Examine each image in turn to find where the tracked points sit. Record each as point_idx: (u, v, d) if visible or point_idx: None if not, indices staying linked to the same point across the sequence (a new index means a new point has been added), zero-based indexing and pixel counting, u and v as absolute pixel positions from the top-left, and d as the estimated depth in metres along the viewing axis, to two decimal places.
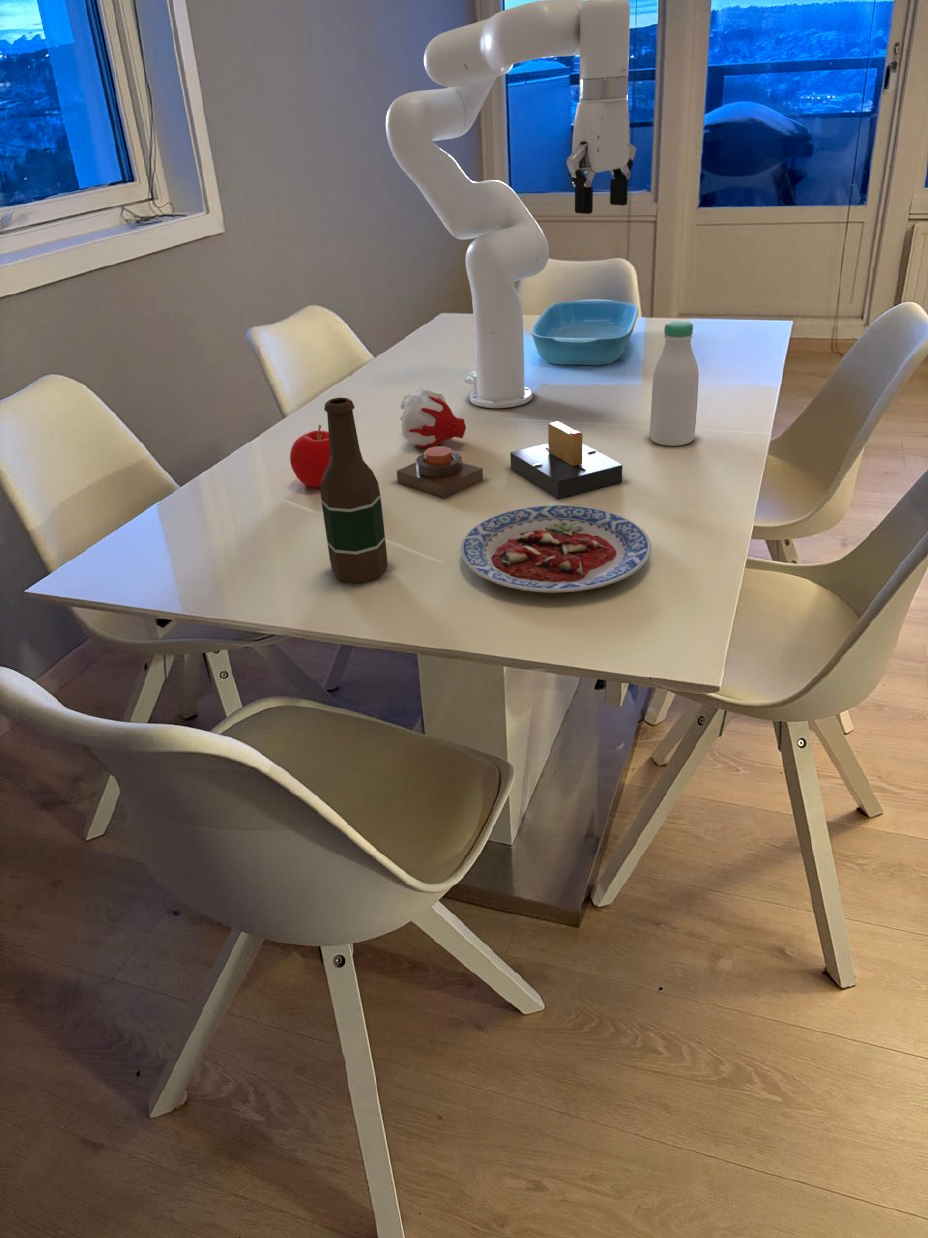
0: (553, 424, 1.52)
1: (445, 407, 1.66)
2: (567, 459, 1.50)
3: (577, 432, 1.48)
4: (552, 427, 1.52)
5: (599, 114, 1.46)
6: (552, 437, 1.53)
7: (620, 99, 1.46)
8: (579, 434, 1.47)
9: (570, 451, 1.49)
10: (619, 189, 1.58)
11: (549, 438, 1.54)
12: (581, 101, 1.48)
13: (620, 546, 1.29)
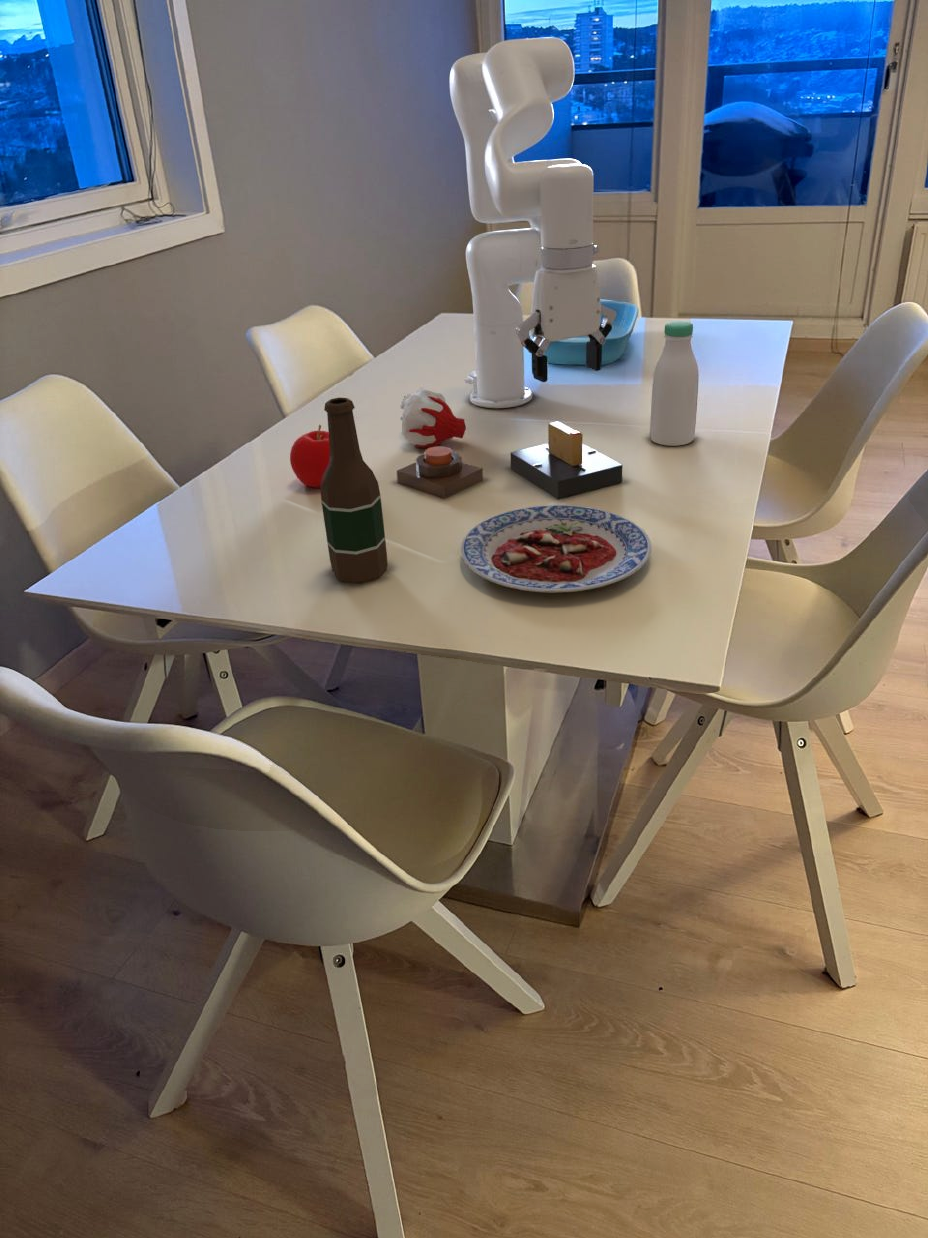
0: (553, 424, 1.52)
1: (445, 407, 1.66)
2: (567, 459, 1.50)
3: (577, 432, 1.48)
4: (552, 427, 1.52)
5: (552, 285, 1.36)
6: (552, 437, 1.53)
7: (576, 270, 1.35)
8: (579, 434, 1.47)
9: (570, 451, 1.49)
10: (592, 354, 1.46)
11: (549, 438, 1.54)
12: (541, 268, 1.38)
13: (620, 546, 1.29)
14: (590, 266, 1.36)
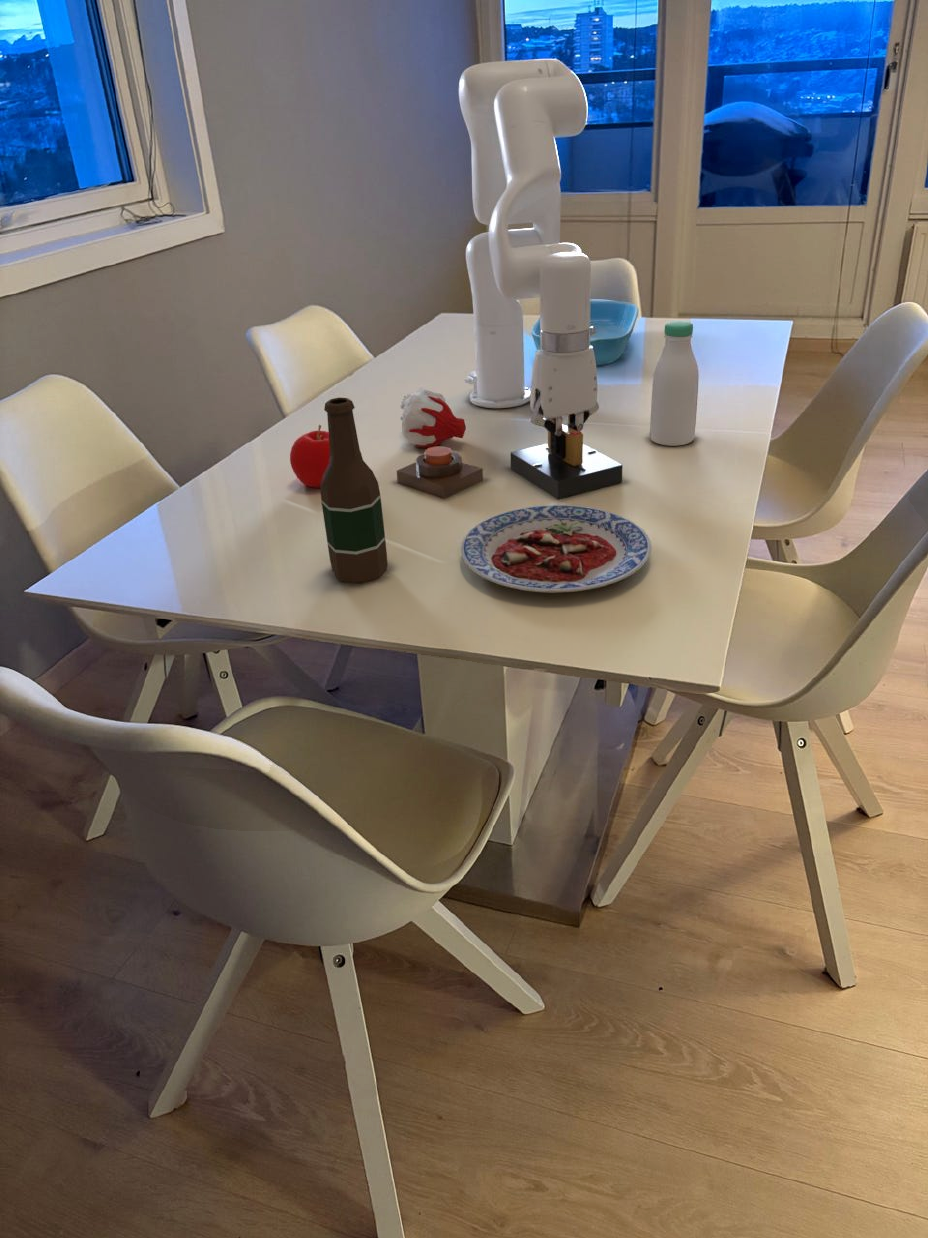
0: None
1: (445, 407, 1.66)
2: (567, 459, 1.50)
3: (577, 432, 1.48)
4: None
5: (551, 367, 1.41)
6: None
7: (575, 353, 1.40)
8: (579, 434, 1.47)
9: (571, 451, 1.49)
10: None
11: (549, 438, 1.54)
12: (540, 349, 1.44)
13: (620, 546, 1.29)
14: (588, 348, 1.42)
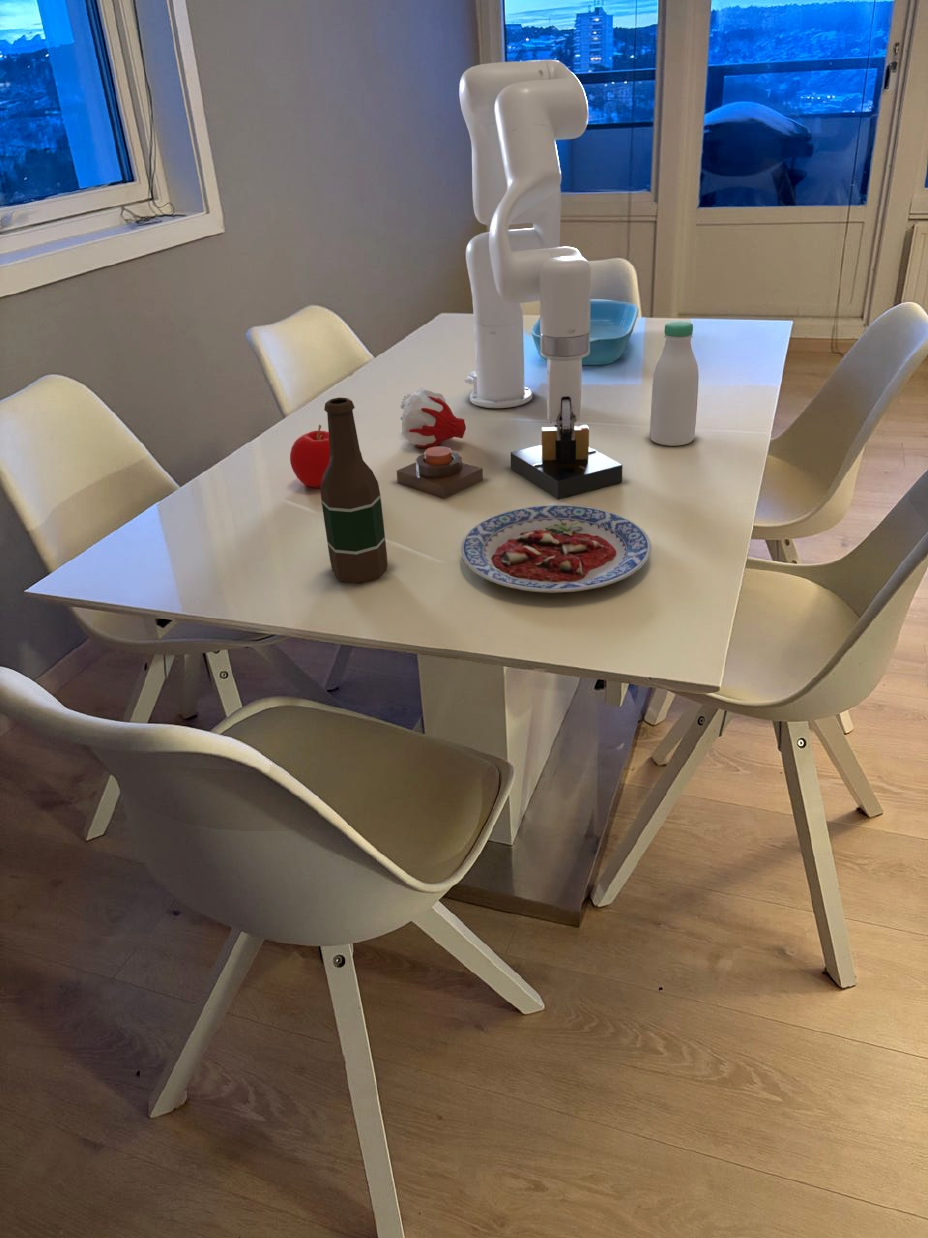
0: (549, 430, 1.50)
1: (445, 407, 1.66)
2: (578, 456, 1.51)
3: (585, 425, 1.50)
4: (549, 433, 1.50)
5: (579, 370, 1.41)
6: (550, 443, 1.51)
7: (589, 351, 1.43)
8: (587, 427, 1.50)
9: (584, 446, 1.50)
10: None
11: (544, 445, 1.51)
12: (553, 358, 1.41)
13: (620, 546, 1.29)
14: None
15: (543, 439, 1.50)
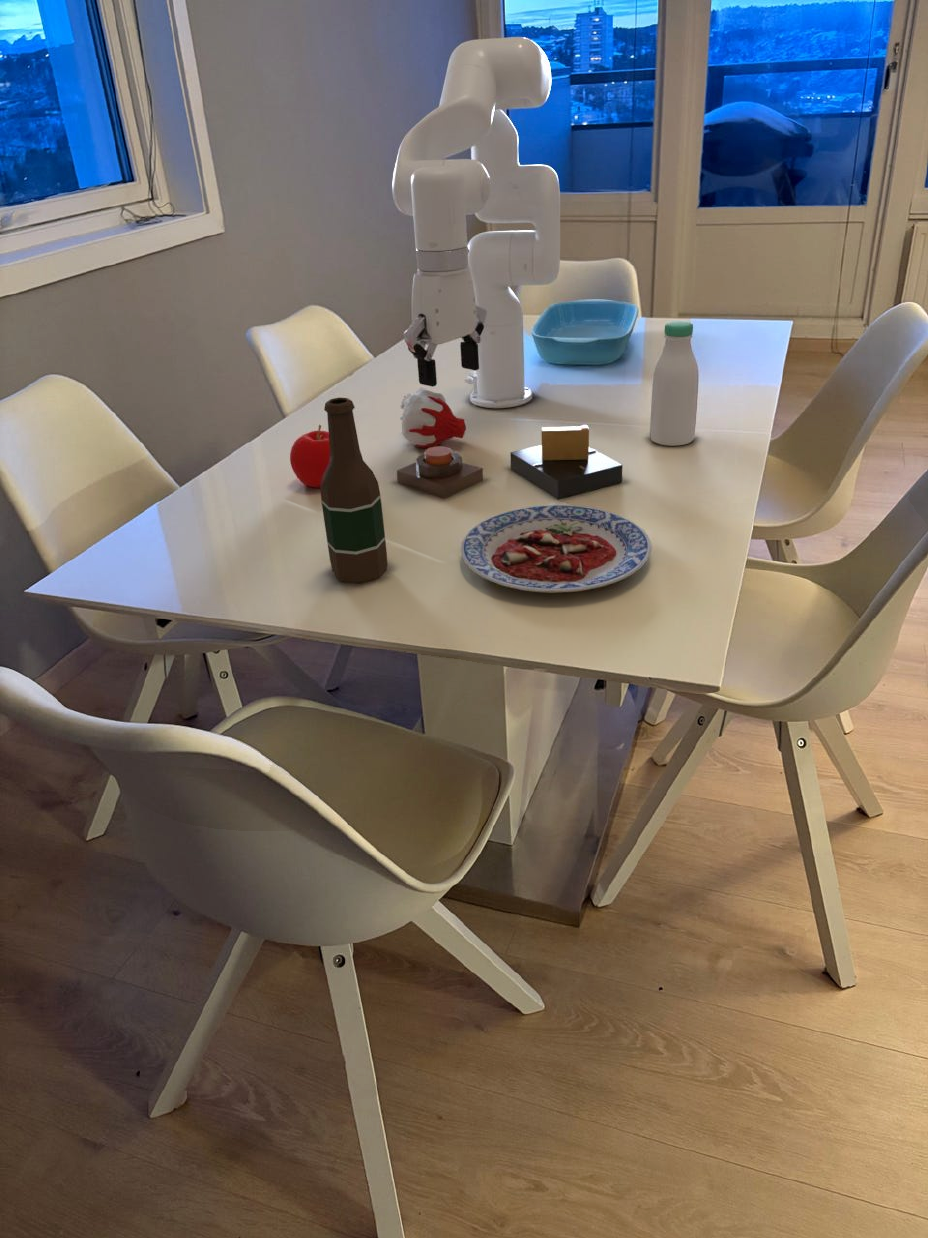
0: (549, 430, 1.50)
1: (445, 407, 1.66)
2: (578, 456, 1.51)
3: (585, 425, 1.50)
4: (549, 433, 1.50)
5: (436, 288, 1.35)
6: (550, 443, 1.51)
7: (458, 271, 1.35)
8: (587, 427, 1.50)
9: (584, 446, 1.50)
10: (469, 354, 1.47)
11: (544, 445, 1.51)
12: (418, 271, 1.37)
13: (620, 546, 1.29)
14: (468, 267, 1.37)
15: (543, 439, 1.50)
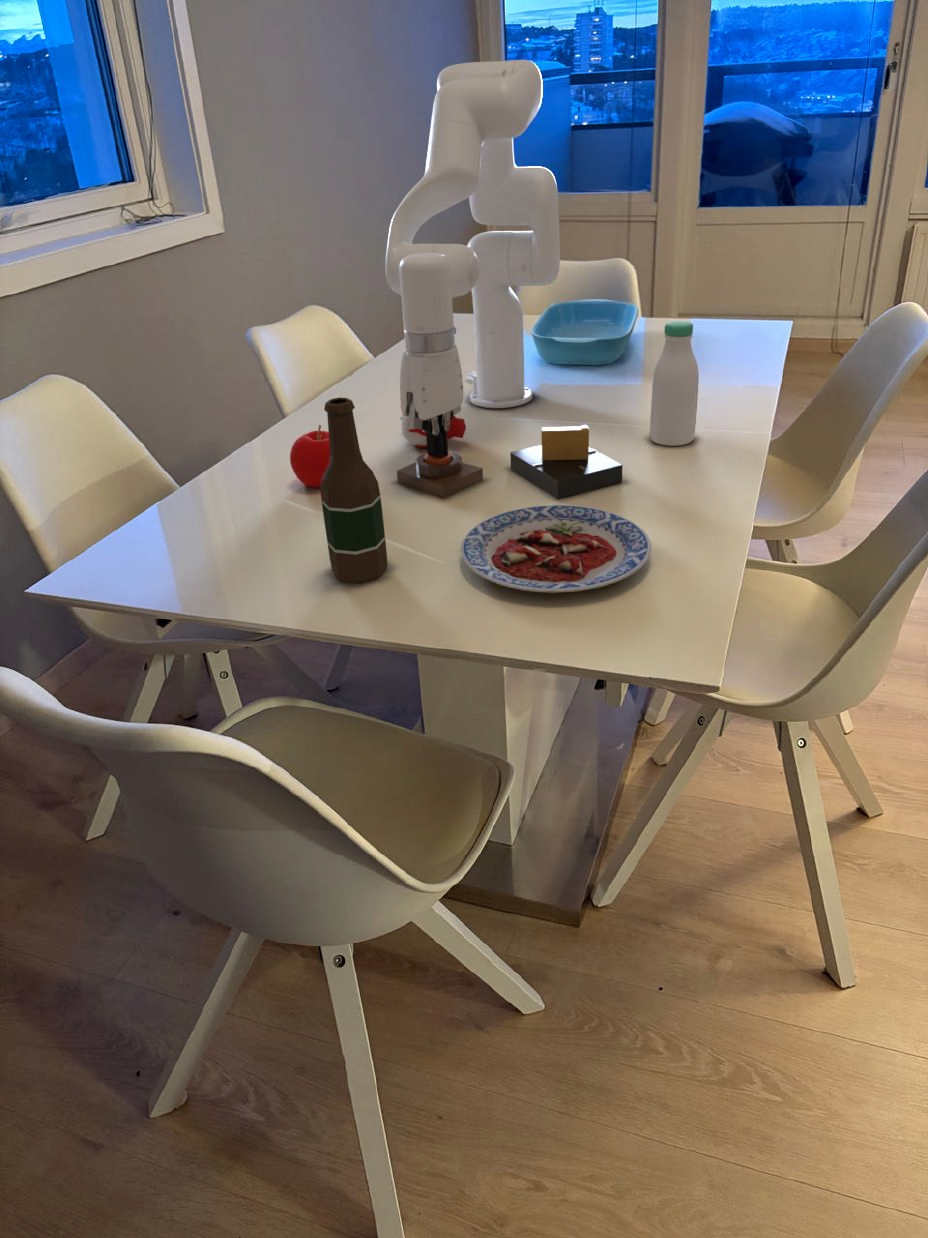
0: (549, 430, 1.50)
1: None
2: (578, 456, 1.51)
3: (585, 425, 1.50)
4: (549, 433, 1.50)
5: (423, 368, 1.41)
6: (550, 443, 1.51)
7: (444, 352, 1.41)
8: (587, 427, 1.50)
9: (584, 446, 1.50)
10: None
11: (544, 445, 1.51)
12: (406, 351, 1.43)
13: (620, 546, 1.29)
14: (454, 347, 1.43)
15: (543, 439, 1.50)
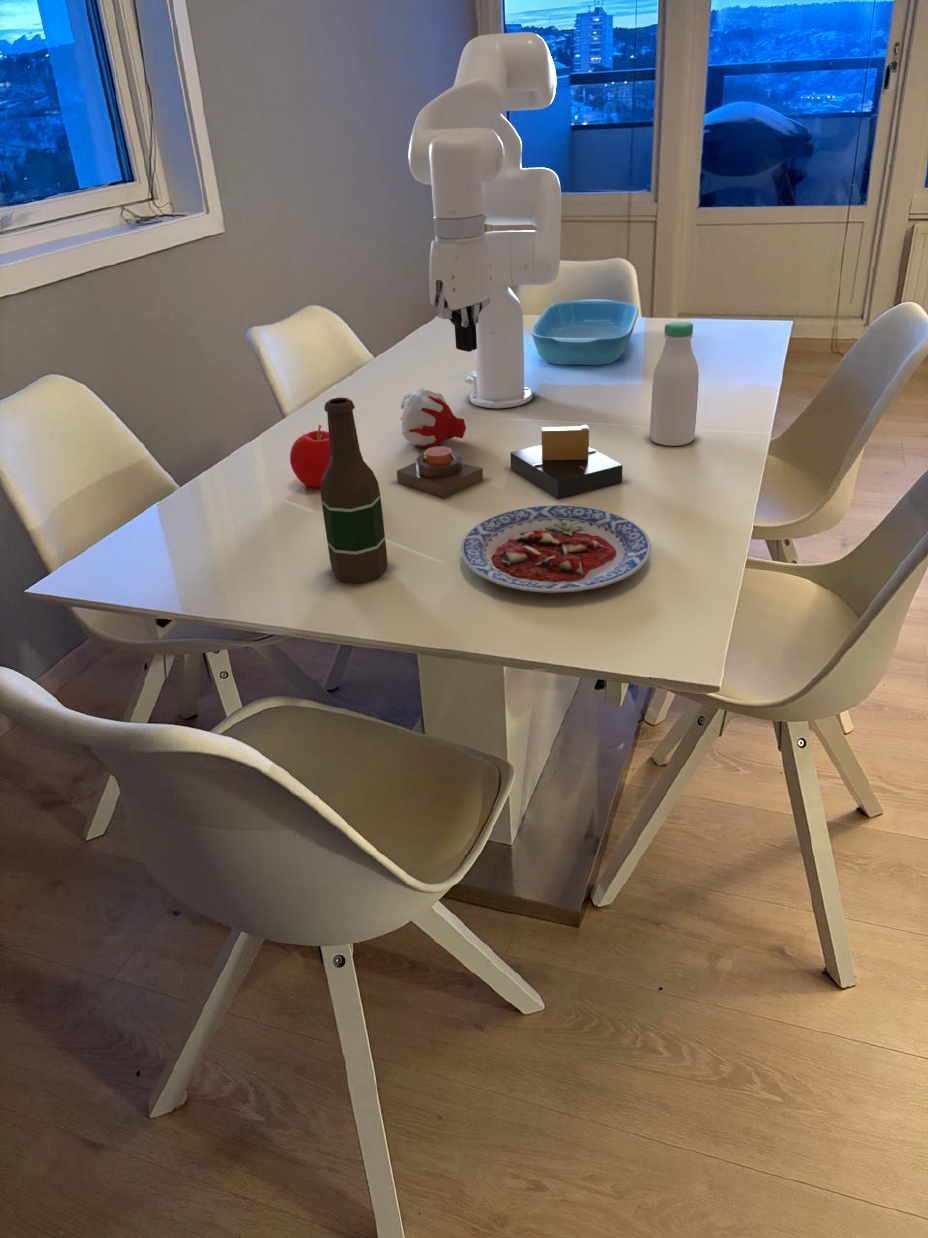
0: (549, 430, 1.50)
1: (445, 407, 1.66)
2: (578, 456, 1.51)
3: (585, 425, 1.50)
4: (549, 433, 1.50)
5: (452, 254, 1.39)
6: (550, 443, 1.51)
7: (474, 238, 1.39)
8: (587, 427, 1.50)
9: (584, 446, 1.50)
10: None
11: (544, 445, 1.51)
12: (436, 238, 1.41)
13: (620, 546, 1.29)
14: (484, 234, 1.41)
15: (543, 439, 1.50)
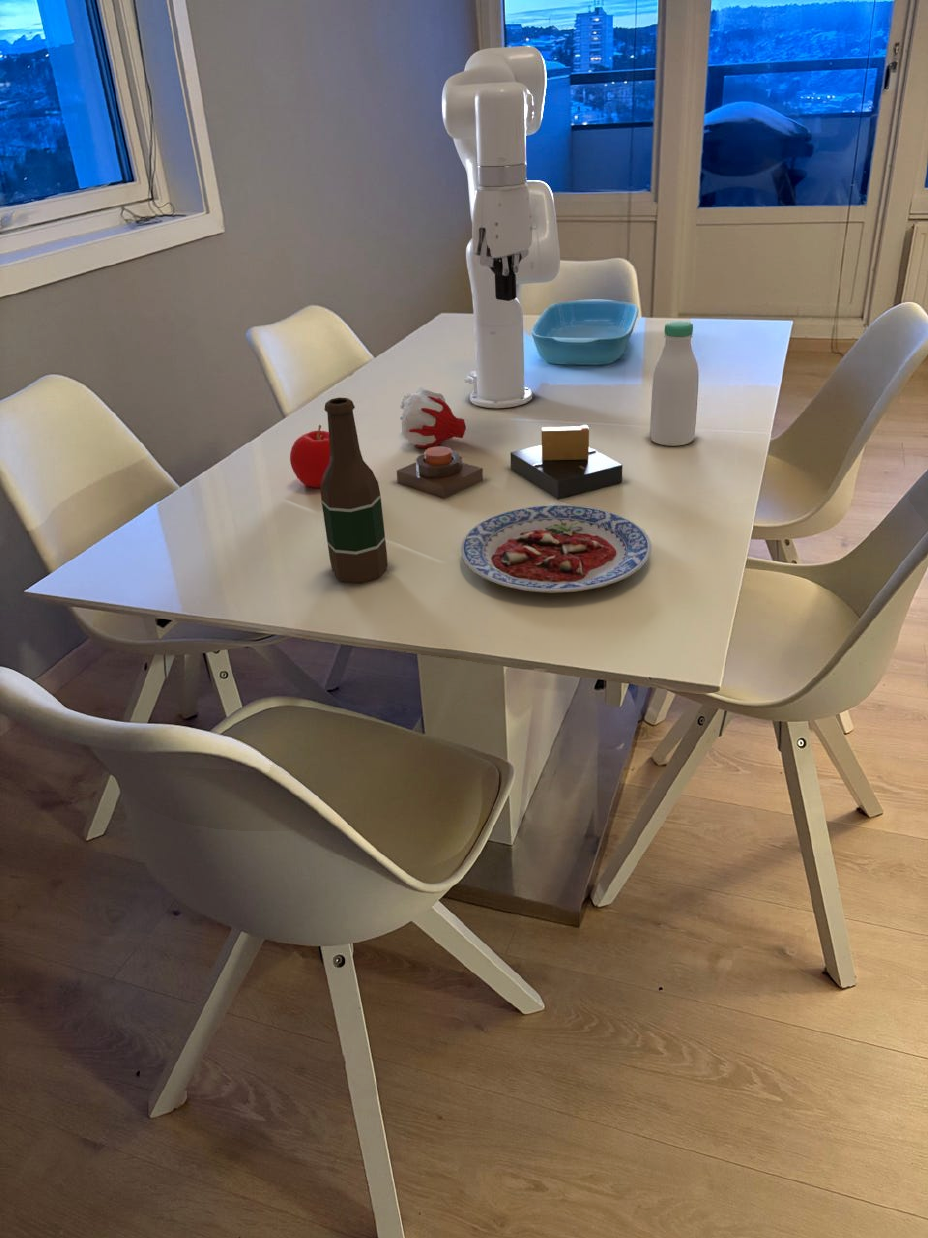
0: (549, 430, 1.50)
1: (445, 407, 1.66)
2: (578, 456, 1.51)
3: (585, 425, 1.50)
4: (549, 433, 1.50)
5: (496, 201, 1.44)
6: (550, 443, 1.51)
7: (517, 186, 1.44)
8: (587, 427, 1.50)
9: (584, 446, 1.50)
10: None
11: (544, 445, 1.51)
12: (479, 187, 1.46)
13: (620, 546, 1.29)
14: (526, 183, 1.46)
15: (543, 439, 1.50)
